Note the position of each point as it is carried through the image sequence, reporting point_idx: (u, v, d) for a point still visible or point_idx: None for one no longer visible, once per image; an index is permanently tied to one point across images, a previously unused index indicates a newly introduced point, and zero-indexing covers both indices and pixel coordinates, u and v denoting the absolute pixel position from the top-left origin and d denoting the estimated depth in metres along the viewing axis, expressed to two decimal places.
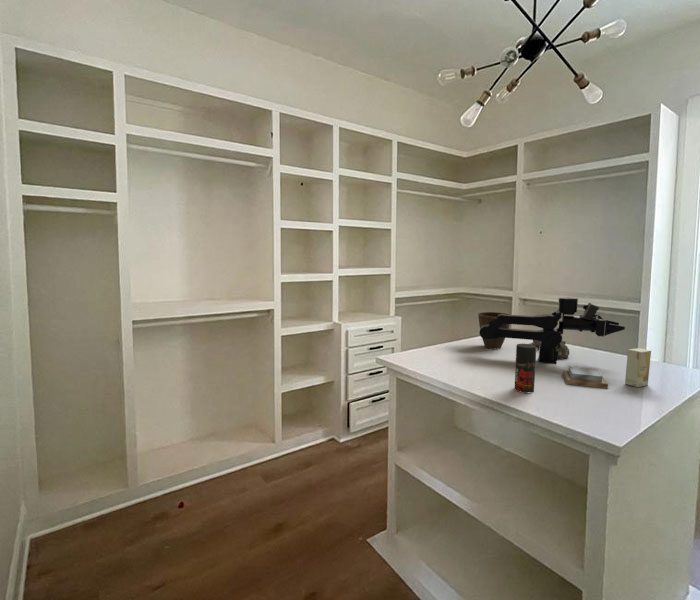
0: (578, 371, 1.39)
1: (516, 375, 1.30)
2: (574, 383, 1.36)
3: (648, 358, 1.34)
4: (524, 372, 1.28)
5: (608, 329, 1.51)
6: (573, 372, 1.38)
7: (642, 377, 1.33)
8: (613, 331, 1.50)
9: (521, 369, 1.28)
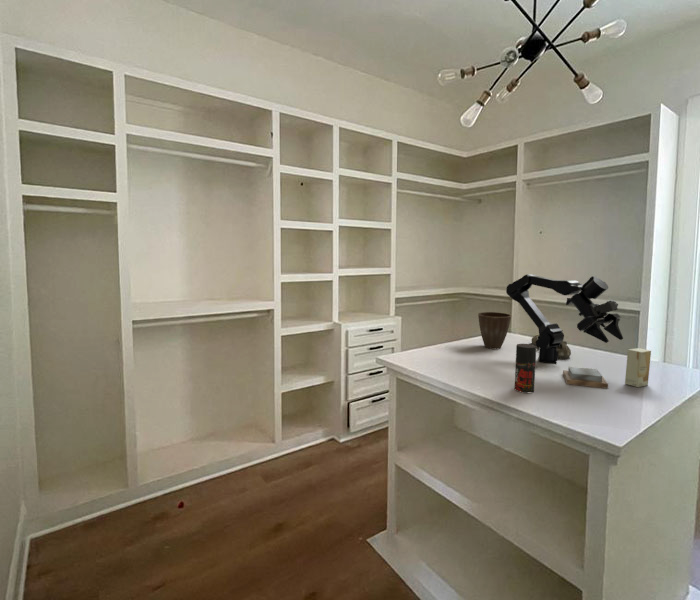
0: (578, 371, 1.39)
1: (516, 375, 1.30)
2: (574, 383, 1.36)
3: (648, 358, 1.34)
4: (524, 372, 1.28)
5: (593, 331, 1.42)
6: (573, 372, 1.38)
7: (642, 377, 1.33)
8: (595, 335, 1.42)
9: (521, 369, 1.28)
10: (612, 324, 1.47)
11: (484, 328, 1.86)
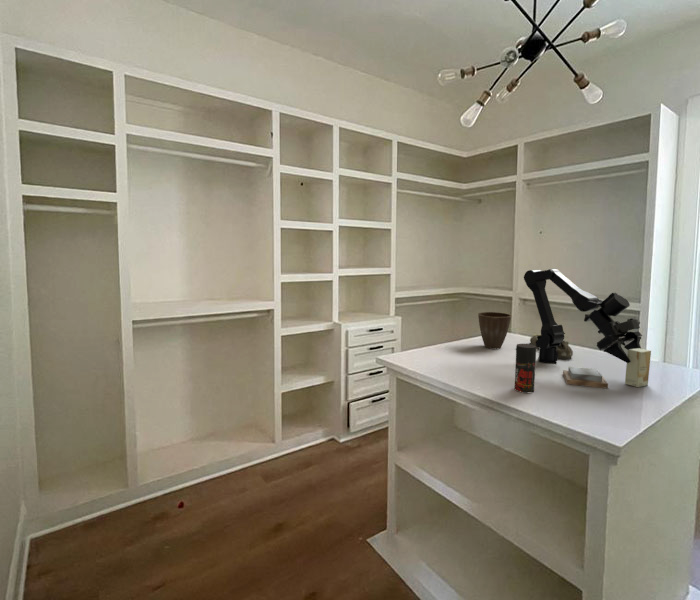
0: (578, 371, 1.39)
1: (516, 375, 1.30)
2: (574, 383, 1.36)
3: (648, 358, 1.34)
4: (524, 372, 1.28)
5: (614, 350, 1.36)
6: (573, 372, 1.38)
7: (642, 377, 1.33)
8: (616, 355, 1.36)
9: (521, 369, 1.28)
10: (633, 343, 1.41)
11: (484, 328, 1.86)
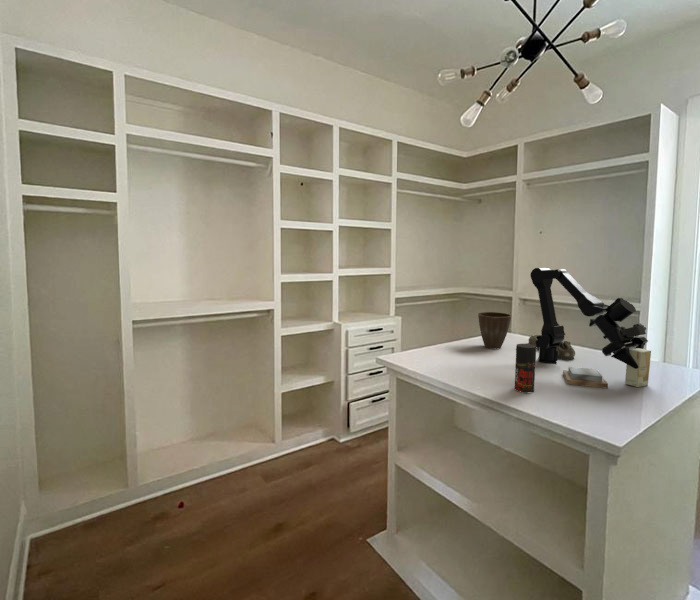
0: (578, 371, 1.39)
1: (516, 375, 1.30)
2: (574, 383, 1.36)
3: (648, 358, 1.34)
4: (524, 372, 1.28)
5: (622, 356, 1.35)
6: (573, 372, 1.38)
7: (642, 377, 1.33)
8: (623, 361, 1.35)
9: (521, 369, 1.28)
10: None
11: (484, 328, 1.86)
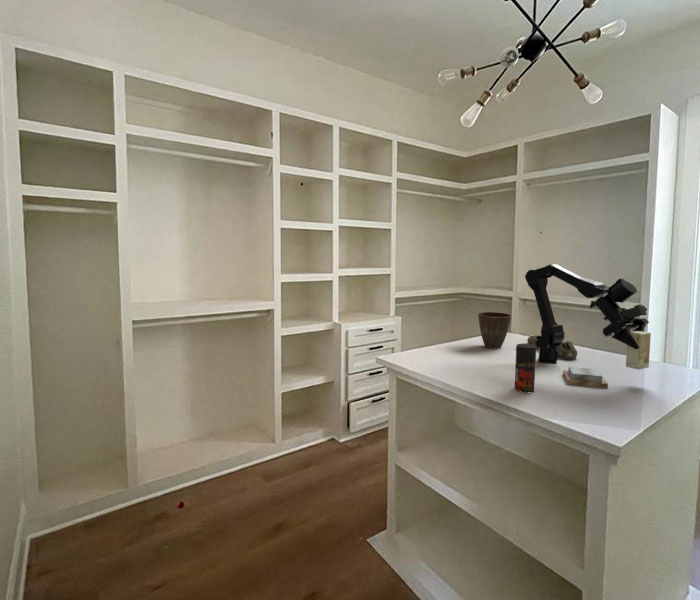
0: (578, 371, 1.39)
1: (516, 375, 1.30)
2: (574, 383, 1.36)
3: (648, 340, 1.33)
4: (524, 372, 1.28)
5: (622, 336, 1.35)
6: (573, 372, 1.38)
7: (643, 359, 1.33)
8: (624, 341, 1.34)
9: (521, 369, 1.28)
10: (637, 330, 1.38)
11: (484, 328, 1.86)
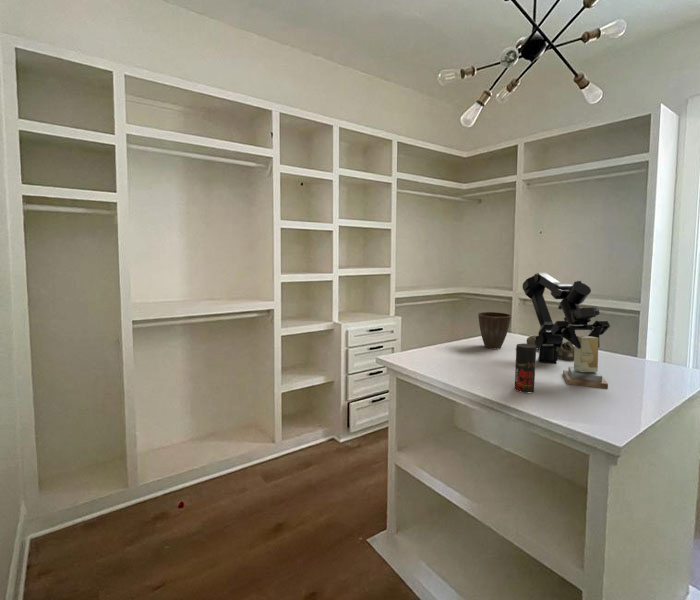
0: (578, 371, 1.39)
1: (516, 375, 1.30)
2: (574, 383, 1.36)
3: (594, 345, 1.37)
4: (524, 372, 1.28)
5: (569, 336, 1.41)
6: (573, 372, 1.38)
7: (587, 362, 1.37)
8: (570, 340, 1.41)
9: (521, 369, 1.28)
10: (593, 332, 1.40)
11: (484, 328, 1.86)
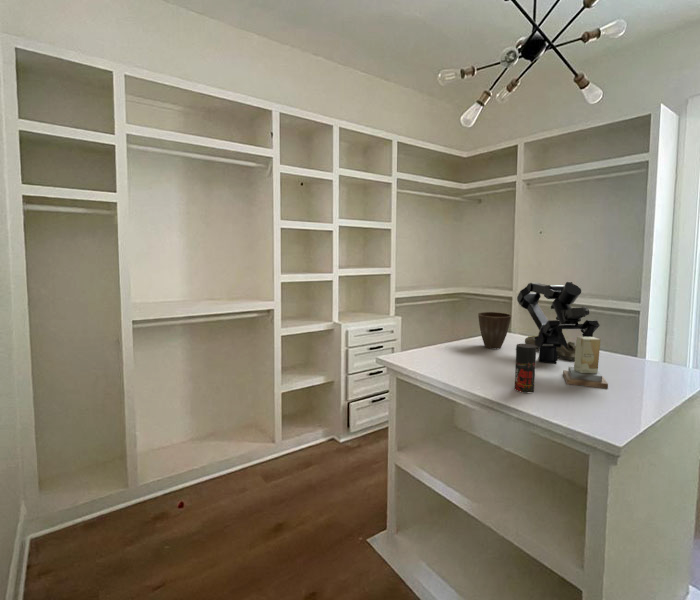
0: None
1: (516, 375, 1.30)
2: (574, 383, 1.36)
3: (596, 346, 1.36)
4: (524, 372, 1.28)
5: (557, 334, 1.47)
6: (573, 372, 1.38)
7: (588, 364, 1.36)
8: (557, 339, 1.46)
9: (521, 369, 1.28)
10: (587, 331, 1.46)
11: (484, 328, 1.86)
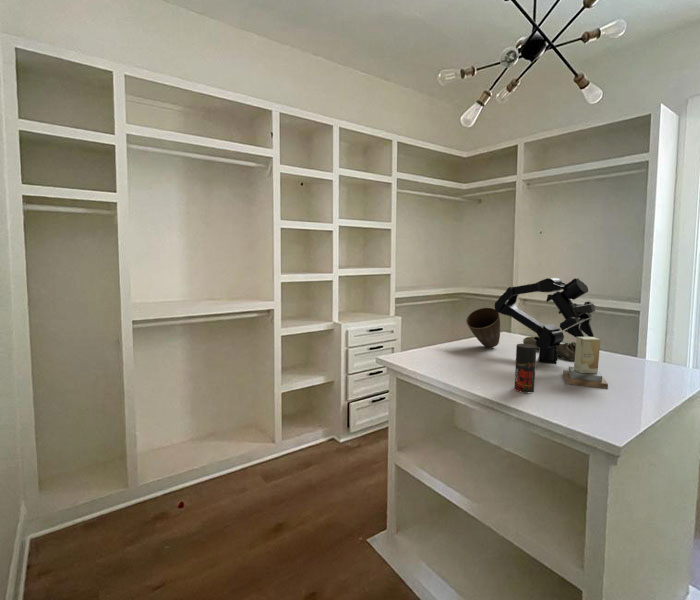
0: None
1: (516, 375, 1.30)
2: (574, 383, 1.36)
3: (596, 346, 1.36)
4: (524, 372, 1.28)
5: (573, 330, 1.52)
6: (573, 372, 1.38)
7: (588, 364, 1.36)
8: (574, 335, 1.51)
9: (521, 369, 1.28)
10: (585, 323, 1.58)
11: (479, 336, 1.83)
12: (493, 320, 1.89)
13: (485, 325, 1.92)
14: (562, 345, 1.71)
